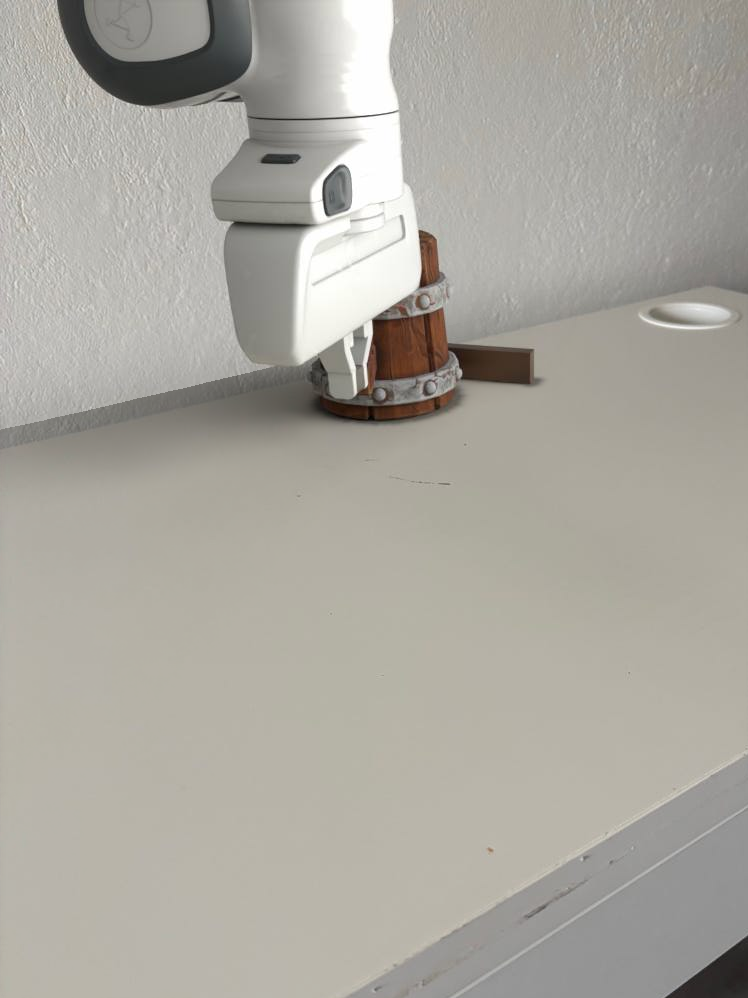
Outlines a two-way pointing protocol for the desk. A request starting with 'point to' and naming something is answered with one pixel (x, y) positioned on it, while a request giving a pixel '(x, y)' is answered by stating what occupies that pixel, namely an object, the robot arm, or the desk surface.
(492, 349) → the rail
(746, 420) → the desk surface
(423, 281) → the mug
